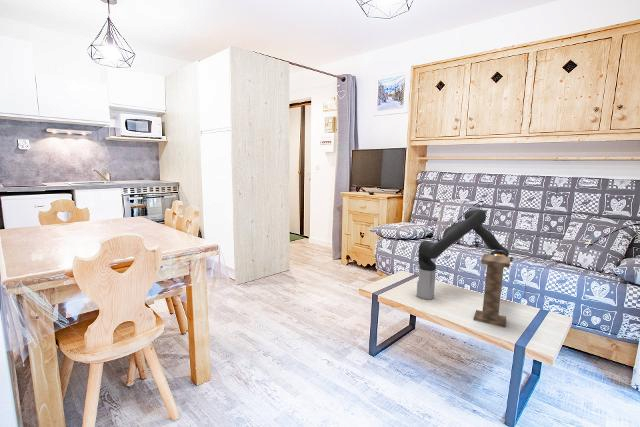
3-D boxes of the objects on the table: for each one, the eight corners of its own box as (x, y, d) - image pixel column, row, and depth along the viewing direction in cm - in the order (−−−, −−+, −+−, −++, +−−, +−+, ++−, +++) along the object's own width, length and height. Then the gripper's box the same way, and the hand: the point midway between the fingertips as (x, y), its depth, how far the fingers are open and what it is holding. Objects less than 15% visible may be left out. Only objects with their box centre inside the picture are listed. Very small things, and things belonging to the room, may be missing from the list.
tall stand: (473, 320, 164) (479, 259, 160) (476, 311, 175) (481, 253, 171) (505, 328, 157) (512, 264, 152) (506, 318, 168) (512, 257, 163)
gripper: (487, 248, 202) (486, 250, 186) (513, 252, 195) (515, 254, 180) (485, 260, 202) (484, 263, 187) (512, 264, 195) (513, 267, 180)
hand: (499, 259), depth 183 cm, fingers closed on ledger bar, 4 cm apart
